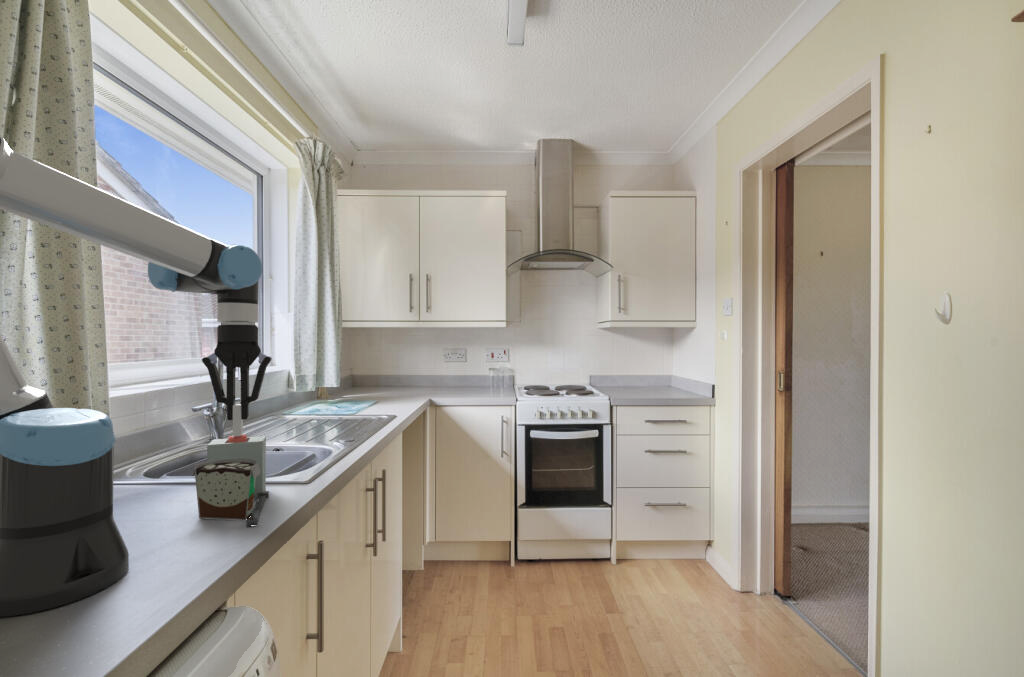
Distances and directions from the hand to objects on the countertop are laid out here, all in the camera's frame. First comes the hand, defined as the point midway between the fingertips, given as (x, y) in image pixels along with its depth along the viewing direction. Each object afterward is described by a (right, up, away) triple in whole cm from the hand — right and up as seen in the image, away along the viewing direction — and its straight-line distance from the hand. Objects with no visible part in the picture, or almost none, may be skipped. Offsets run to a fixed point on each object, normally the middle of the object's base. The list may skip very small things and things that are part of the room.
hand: (237, 435), depth 100 cm
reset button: (0, -3, 0) cm, 3 cm away
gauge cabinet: (0, -13, 0) cm, 13 cm away
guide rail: (+9, -13, -8) cm, 18 cm away
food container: (+5, -13, -9) cm, 17 cm away
